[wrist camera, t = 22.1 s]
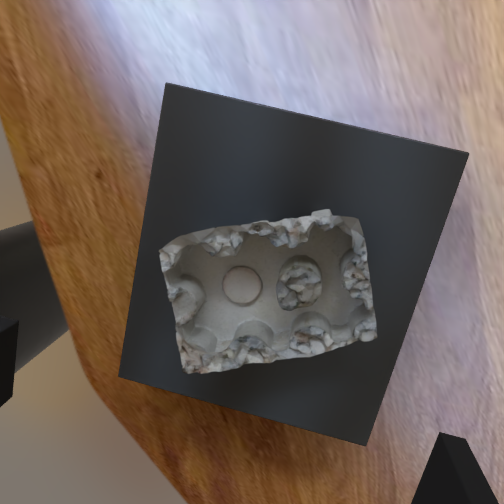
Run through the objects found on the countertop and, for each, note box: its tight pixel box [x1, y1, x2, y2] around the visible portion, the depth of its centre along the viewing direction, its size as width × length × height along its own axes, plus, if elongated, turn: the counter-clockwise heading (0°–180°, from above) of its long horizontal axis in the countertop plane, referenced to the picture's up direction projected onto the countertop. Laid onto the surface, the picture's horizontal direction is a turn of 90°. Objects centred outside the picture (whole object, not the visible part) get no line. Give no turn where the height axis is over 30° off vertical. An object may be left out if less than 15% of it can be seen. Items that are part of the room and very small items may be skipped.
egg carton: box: [159, 209, 377, 374], centre depth 24 cm, size 11×8×4 cm
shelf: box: [118, 83, 469, 446], centre depth 28 cm, size 16×18×6 cm
